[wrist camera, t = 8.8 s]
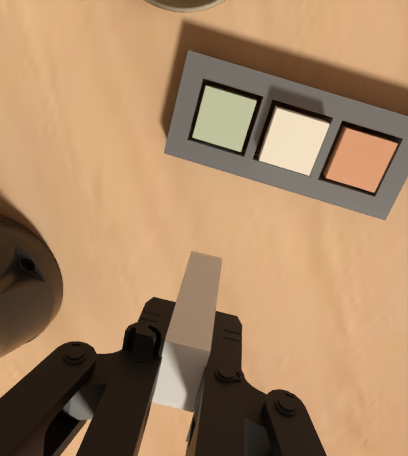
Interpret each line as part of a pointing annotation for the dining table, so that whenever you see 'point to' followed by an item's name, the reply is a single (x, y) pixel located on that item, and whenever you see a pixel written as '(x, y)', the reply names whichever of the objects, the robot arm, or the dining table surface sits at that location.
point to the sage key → (224, 117)
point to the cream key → (293, 140)
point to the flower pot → (185, 5)
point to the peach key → (358, 158)
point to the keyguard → (247, 160)
